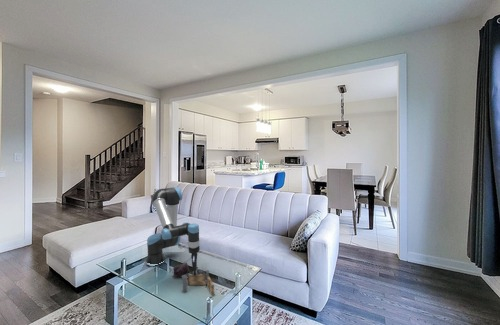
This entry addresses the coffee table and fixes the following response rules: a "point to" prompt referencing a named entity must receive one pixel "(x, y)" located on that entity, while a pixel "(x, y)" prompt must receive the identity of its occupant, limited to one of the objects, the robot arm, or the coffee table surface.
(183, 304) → the coffee table surface
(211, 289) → the fence
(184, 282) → the posts
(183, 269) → the rock
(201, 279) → the gate
